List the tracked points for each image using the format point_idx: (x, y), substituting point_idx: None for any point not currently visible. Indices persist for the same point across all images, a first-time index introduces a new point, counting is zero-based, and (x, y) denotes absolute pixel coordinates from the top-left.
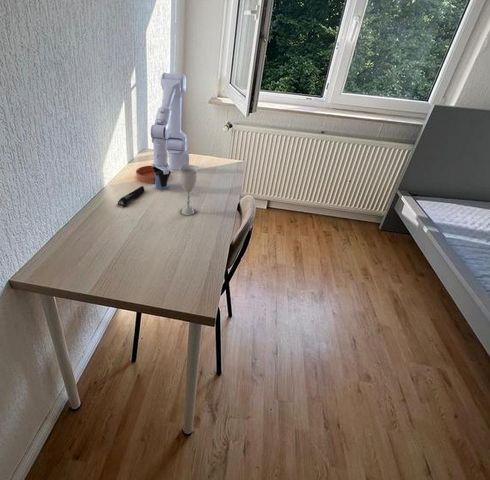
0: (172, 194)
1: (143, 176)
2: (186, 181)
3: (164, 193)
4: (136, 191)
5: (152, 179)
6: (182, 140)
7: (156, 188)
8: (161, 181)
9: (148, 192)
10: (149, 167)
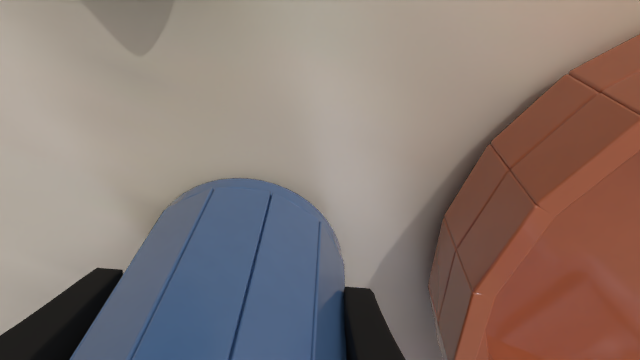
0: (13, 302)
1: None
2: None
3: (63, 228)
4: None
5: (470, 245)
6: None
7: (214, 184)
8: (14, 352)
9: (159, 6)
10: None
